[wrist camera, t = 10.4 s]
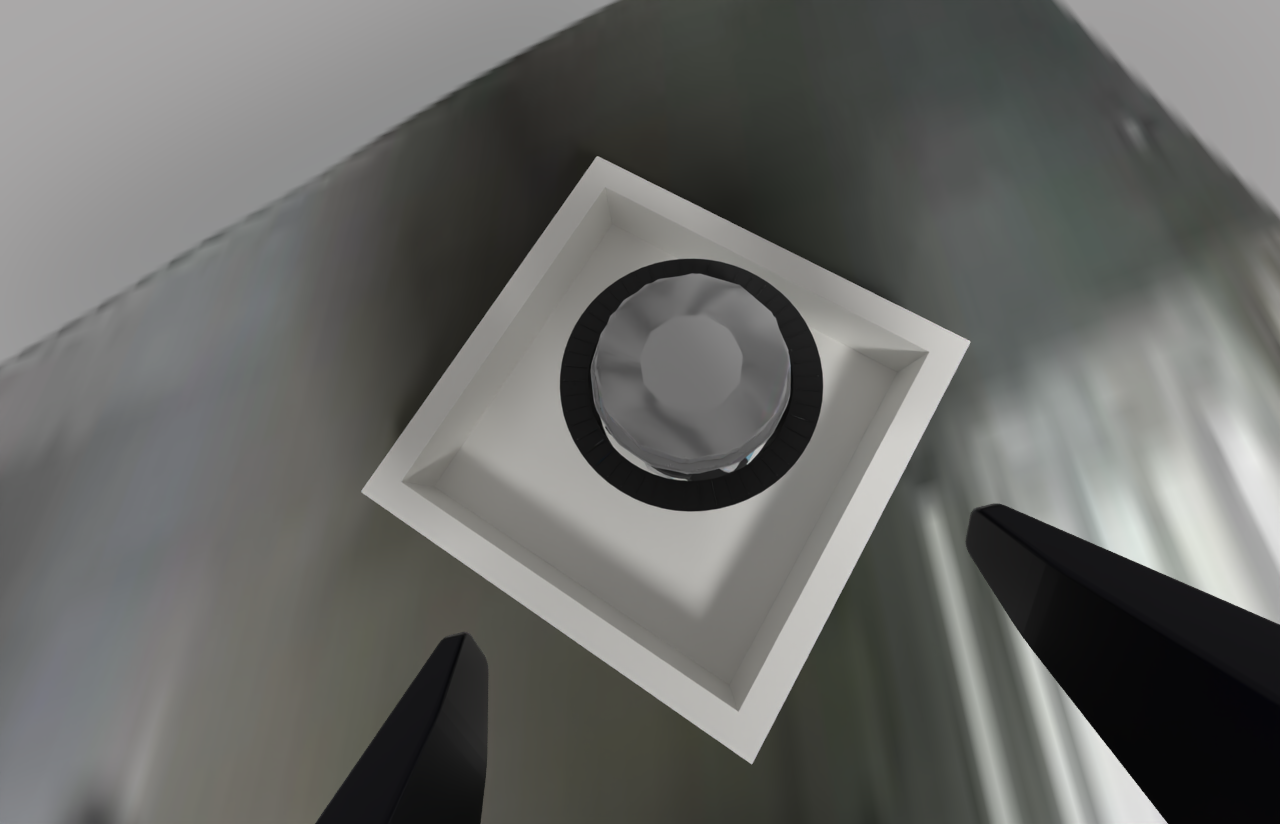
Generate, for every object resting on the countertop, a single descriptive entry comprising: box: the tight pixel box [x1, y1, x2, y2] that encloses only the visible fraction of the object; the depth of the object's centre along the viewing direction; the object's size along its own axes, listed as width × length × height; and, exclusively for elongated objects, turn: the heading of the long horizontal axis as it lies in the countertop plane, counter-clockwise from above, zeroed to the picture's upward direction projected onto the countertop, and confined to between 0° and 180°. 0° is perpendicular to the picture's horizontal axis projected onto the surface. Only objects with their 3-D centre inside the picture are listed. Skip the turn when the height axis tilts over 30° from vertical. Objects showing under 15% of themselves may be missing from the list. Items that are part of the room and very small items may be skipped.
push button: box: [560, 259, 823, 512], centre depth 14 cm, size 7×5×10 cm
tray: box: [361, 156, 971, 764], centre depth 18 cm, size 15×15×3 cm
